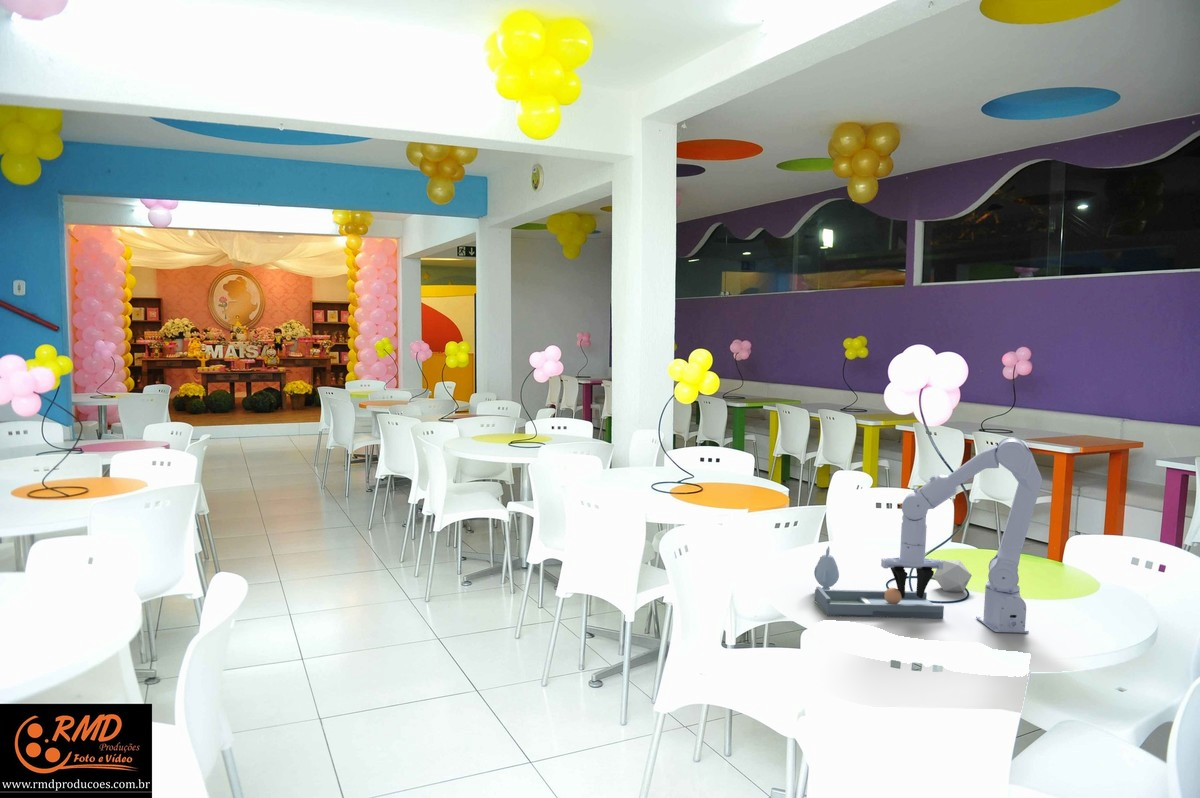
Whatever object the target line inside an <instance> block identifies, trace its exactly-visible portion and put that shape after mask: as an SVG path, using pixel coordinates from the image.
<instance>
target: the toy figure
mask: <svg viewBox="0 0 1200 798" xmlns="http://www.w3.org/2000/svg"><path fill="white" fill-rule="evenodd" d="M813 574H814V578H815V580H816V581H817V583H818V584H819V586H820V587H821V586H822V587H821V588H822V589H823V590H831V589H830V588H831V587H833V586H834V585H835V584H836V583H837V582H838V581H839V577H840V573H839V567H838V564H837V562H836V559H835V557H834V556H833V555H831V554H830V546H829V545H828V546H827V548H826V551H825V554H823V555H821V556H820V557H819V560H818V562H817V564H816V566H815V567H814V573H813Z"/></svg>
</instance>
